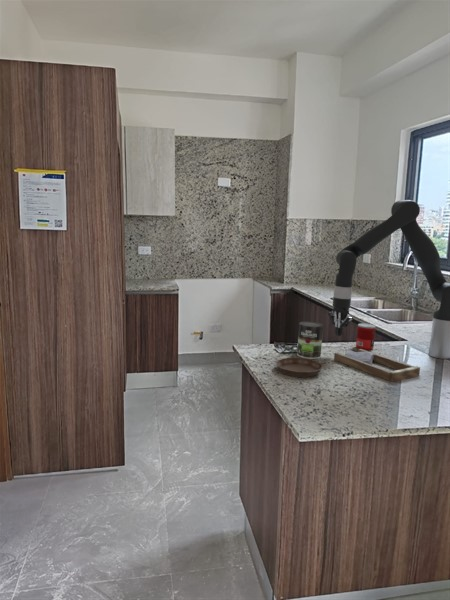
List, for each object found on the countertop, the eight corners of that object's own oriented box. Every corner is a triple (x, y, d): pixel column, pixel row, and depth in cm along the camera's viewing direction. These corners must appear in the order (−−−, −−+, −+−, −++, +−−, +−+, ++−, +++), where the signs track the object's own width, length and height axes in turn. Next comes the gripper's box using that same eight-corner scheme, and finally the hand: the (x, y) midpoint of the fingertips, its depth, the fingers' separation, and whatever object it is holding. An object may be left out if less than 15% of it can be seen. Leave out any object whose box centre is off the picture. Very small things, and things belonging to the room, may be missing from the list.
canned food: (374, 351, 210) (376, 327, 208) (356, 349, 212) (358, 326, 210) (372, 346, 218) (374, 324, 216) (355, 345, 219) (357, 322, 217)
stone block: (371, 371, 186) (373, 360, 195) (372, 360, 185) (374, 350, 193) (341, 367, 191) (345, 357, 199) (342, 357, 189) (345, 347, 198)
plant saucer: (270, 374, 171) (271, 367, 171) (281, 362, 188) (281, 355, 187) (318, 382, 165) (318, 374, 165) (324, 368, 182) (325, 361, 181)
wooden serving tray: (360, 355, 202) (360, 347, 201) (419, 375, 177) (420, 367, 177) (334, 359, 193) (334, 352, 193) (392, 381, 169) (393, 372, 168)
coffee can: (318, 360, 191) (321, 327, 189) (294, 357, 195) (296, 324, 192) (322, 354, 200) (325, 323, 198) (299, 351, 204) (302, 320, 202)
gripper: (360, 299, 195) (355, 338, 197) (337, 294, 206) (333, 331, 208) (347, 299, 191) (343, 340, 193) (325, 294, 202) (321, 332, 204)
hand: (338, 335), depth 201 cm, fingers closed
